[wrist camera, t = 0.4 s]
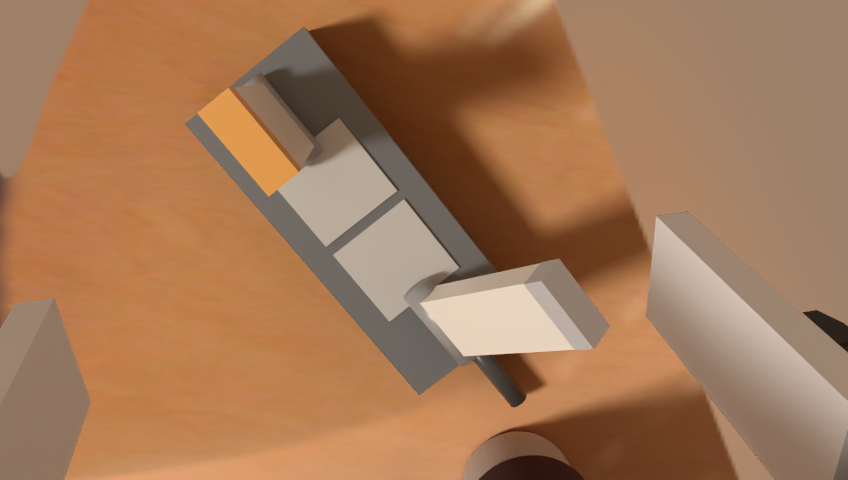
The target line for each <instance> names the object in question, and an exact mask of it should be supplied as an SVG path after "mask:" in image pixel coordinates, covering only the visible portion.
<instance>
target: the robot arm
mask: <svg viewBox="0 0 848 480" xmlns="http://www.w3.org/2000/svg"><path fill="white" fill-rule="evenodd" d="M646 317H647V318H648V319H649V321H650V322H651V323H652V324H653V326H654V327H655V328H656V330H657V331H658V332H659V333H660V335H661V336H662V337H663V338H664V340H665V341H666V342H667V343H668V345H669V346H670V347H671V349H672V350H673V351H674V352H675V354H676V355H677V356H678V357H679V359H680V360H681V361H682V362H683V364H684V365H685V366H686V368H687V369H688V370H689V371H690V373H691V374H692V375H693V376H694V378H695V379H696V380H697V381H698V383H699V384H700V385H701V387H702V388H703V389H704V390H705V392H706V393H707V394H708V395H709V397H710V398H711V399H712V400H713V402H714V403H715V404H716V406H717V407H718V408H719V409H720V411H721V412H722V413H723V414H724V416H725V417H726V418H727V419H728V421H729V422H730V423H731V425H732V426H733V427H734V428H735V430H736V431H737V432H738V433H739V435H740V436H741V437H742V438H743V440H744V441H745V442H746V444H747V445H748V446H749V447H750V448H751V450H752V451H753V452H754V454H755V455H756V456H757V457H758V459H759V460H760V461H761V462H762V464H763V465H764V466H765V468H766V469H767V470H768V471H769V473H770V474H771V475H772V476H773V478H774V479H775V480H848V326H847V325H845V324H844V323H842V322H840V321H838V320H836V319H834V318H832V317H830V316H827V315H826V314H823V313H822V312H819V311H817V310H815V311H810V312H803V313H802V312H801V311H800V310H799V309H798V308H796V307H795V306H794V305H793V304H792V303H791V302H790V301H789V300H787V299H786V298H785V297H784V296H783V295H782V294H781V293H779V292H778V291H777V290H776V289H775V288H774V287H773V286H772V285H770V284H769V283H768V282H767V281H766V280H764V279H763V278H762V277H761V276H760V275H759V274H758V273H757V272H756V271H754V270H753V269H752V268H751V267H750V266H749V265H747V264H746V263H745V262H744V261H743V260H742V259H741V258H740V257H739V256H737V255H736V254H735V253H734V252H733V251H732V250H731V249H729V248H728V247H727V246H726V245H725V244H724V243H723V242H722V241H720V240H719V239H718V238H717V237H716V236H715V235H714V234H712V233H711V232H710V231H709V230H708V229H707V228H706V227H704V226H703V225H702V224H701V223H700V222H699V221H698V220H697V219H695V218H694V217H693V216H692V215H691V214H690V213H689V212H681V213H674V214H666V215H660V216H656V221H655V232H654V241H653V251H652V261H651V271H650V281H649V292H648V302H647V312H646ZM90 403H91V401H90V398H89V395H88V392H87V390H86V387H85V384H84V381H83V378H82V376H81V373H80V370H79V367H78V364H77V361H76V359H75V356H74V353H73V350H72V347H71V344H70V342H69V339H68V336H67V333H66V330H65V327H64V325H63V322H62V319H61V316H60V313H59V310H58V308H57V305H56V302H55V299H54V298H51V299H44V300H37V301H29V302H22V303H15V304H14V306H13V308H12V310H11V311H10V313H9V315H8V316H7V318H6V320H5V322H4V323H3V325H2V327H1V328H0V480H64V478H65V476H66V473H67V470H68V467H69V464H70V461H71V458H72V455H73V452H74V449H75V446H76V443H77V441H78V438H79V435H80V432H81V429H82V426H83V423H84V420H85V417H86V414H87V411H88V408H89V406H90Z"/></svg>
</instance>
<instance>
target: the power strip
mask: <svg viewBox="0 0 848 480" xmlns="http://www.w3.org/2000/svg"><path fill="white" fill-rule="evenodd" d="M259 73H262V75H263V76H264V77H265V78H266V79H267V81H268V82H269V83H270V84H271V86H272V87H273V88H274V89H275V90H276V92H277V93H278V94H279V95H280V97H281V98H282V99H283V100H284V101H285V103H286V104H287V105H288V106H289V108H290V109H291V110H292V111H293V112H294V114H295V115H296V116H297V117H298V119H299V120H300V121H301V122H302V123H303V125H304V126H305V127H306V128H307V130H308V131H309V132H310V133H311V134H312V136H313V137H314V138H315V139H316V141H317V142H318V143H319V144H320V145H321V147H322V148H323V149H324V151H323V152H322V153H321V154H320V155H319V156H318V157H316V158H315V159H314V160H313V161H312V162H310V163H309V164H308V165H307V166H305V167H304V168H303V169H301V170H300V172H299V173H298V174H297V175H295V176H294V177H293V178H292V179H290V180H289V181H288V182H287V183H285V184H284V185H283V186H282V187H280V188H279V189H278V190H277V191H275V192H274V193H273V194H272V195H270V196H269V197H268V196H267V194H266V193H265V192H264V191H263V190H262V189H261V187H260V186H259V185H258V184H257V183H256V181H255V180H254V179H253V178H252V177H251V176H250V174H249V173H248V172H247V171H246V170H245V169H244V167H243V166H242V165H241V164H240V163H239V162H238V160H237V159H236V158H235V157H234V156H233V155H232V153H231V152H230V151H229V150H228V149H227V148H226V146H225V145H224V144H223V143H222V142H221V141H220V139H219V138H218V137H217V136H216V135H215V134H214V132H213V131H212V130H211V129H210V128H209V127H208V125H207V124H206V123H205V122H204V121H203V120H202V118H201V117H200V116H199V115H198V114H196V115H195V116H194V117H193V118H191V119H190V120H189V121H188V122H186V123H185V125H186V126H187V127H188V128H189V129H190V130H191V132H192V133H193V134H194V135H195V136H196V137H197V138H198V140H199V141H200V142H201V143H202V144H203V145H204V147H205V148H206V149H207V150H208V151H209V152H210V154H211V155H212V156H213V157H214V158H215V159H216V160H217V162H218V163H219V164H220V165H221V166H222V167H223V169H224V170H225V171H226V172H227V173H228V174H229V176H230V177H231V178H232V179H233V180H234V181H235V182H236V184H237V185H238V186H239V187H240V188H241V189H242V191H243V192H244V193H245V194H246V195H247V196H248V198H249V199H250V200H251V201H252V202H253V203H254V204H255V206H256V207H257V208H258V209H259V210H260V211H261V213H262V214H263V215H264V216H265V217H266V218H267V220H268V221H269V222H270V223H271V224H272V225H273V226H274V228H275V229H276V230H277V231H278V232H279V233H280V235H281V236H282V237H283V238H284V239H285V240H286V242H287V243H288V244H289V245H290V246H291V247H292V248H293V250H294V251H295V252H296V253H297V254H298V255H299V257H300V258H301V259H302V260H303V261H304V262H305V264H306V265H307V266H308V267H309V268H310V269H311V270H312V272H313V273H314V274H315V275H316V276H317V277H318V279H319V280H320V281H321V282H322V283H323V284H324V286H325V287H326V288H327V289H328V290H329V291H330V292H331V294H332V295H333V296H334V297H335V298H336V299H337V301H338V302H339V303H340V304H341V305H342V306H343V308H344V309H345V310H346V311H347V312H348V313H349V314H350V316H351V317H352V318H353V319H354V320H355V321H356V323H357V324H358V325H359V326H360V327H361V328H362V330H363V331H364V332H365V333H366V334H367V335H368V336H369V338H370V339H371V340H372V341H373V342H374V343H375V345H376V346H377V347H378V348H379V349H380V350H381V352H382V353H383V354H384V355H385V356H386V357H387V358H388V360H389V361H390V362H391V363H392V364H393V365H394V367H395V368H396V369H397V370H398V371H399V372H400V374H401V375H402V376H403V377H404V378H405V379H406V381H407V382H408V383H409V384H410V385H411V386H412V387H413V389H414V390H415V391H416V392H417V393H418V394H419V395H420V394H421V393H423V392H424V391H425V390H427V389H428V388H429V387H431V386H432V385H433V384H435V383H436V382H437V381H439V380H440V379H441V378H443V377H444V376H445V375H446V374H448V373H449V372H450V371H452V370H453V369H454V368H456V367H457V366H458V363H457V362H456V361H455V360H454V359H453V357H452V356H451V355H450V354H449V353H448V351H447V350H446V349H445V348H444V347H443V345H442V344H441V343H440V342H439V341H438V340H437V338H436V337H435V336H434V335H433V334H432V332H431V331H430V330H429V329H428V328H427V326H426V325H425V324H424V323H423V322H422V320H421V319H420V318H419V317H418V316H417V314H416V313H415V312H414V311H413V310H412V308H411V307H410V306H409V305H408V304H407V302H406V301H405V300H404V295H405V294H406V293H407V291H408V290H409V289H410V288H411V287H413V286H414V285H415V284H416V283H418V282H419V281H421V280H422V279H425V278H429V279H430V280H431V281H432V283H433V284H434V285H435V286H437V285H441V284H446V283H451V282H455V281H460V280H465V279H469V278H474V277H478V276H483V275H488V274H492V273H497V272H498V271H497V269H496V268H495V267H494V266H493V264H492V263H491V262H490V261H489V259H488V258H487V257H486V255H485V254H484V253H483V252H482V250H481V249H480V248H479V247H478V245H477V244H476V243H475V241H474V240H473V239H472V238H471V236H470V235H469V234H468V233H467V231H466V230H465V229H464V227H463V226H462V225H461V224H460V222H459V221H458V220H457V219H456V217H455V216H454V215H453V214H452V212H451V211H450V210H449V208H448V207H447V206H446V205H445V203H444V202H443V201H442V200H441V198H440V197H439V196H438V194H437V193H436V192H435V191H434V189H433V188H432V187H431V186H430V184H429V183H428V182H427V180H426V179H425V178H424V177H423V175H422V174H421V173H420V172H419V170H418V169H417V168H416V166H415V165H414V164H413V163H412V161H411V160H410V159H409V158H408V156H407V155H406V154H405V153H404V151H403V150H402V149H401V147H400V146H399V145H398V144H397V142H396V141H395V140H394V139H393V137H392V136H391V135H390V133H389V132H388V131H387V130H386V128H385V127H384V126H383V125H382V123H381V122H380V121H379V119H378V118H377V117H376V116H375V114H374V113H373V112H372V111H371V109H370V108H369V107H368V105H367V104H366V103H365V102H364V100H363V99H362V98H361V97H360V95H359V94H358V93H357V92H356V90H355V89H354V88H353V86H352V85H351V84H350V83H349V81H348V80H347V79H346V78H345V76H344V75H343V74H342V72H341V71H340V70H339V69H338V67H337V66H336V65H335V64H334V62H333V61H332V60H331V58H330V57H329V56H328V55H327V53H326V52H325V51H324V50H323V48H322V47H321V46H320V44H319V43H318V42H317V41H316V39H315V38H314V37H313V36H312V34H311V33H310V32H309V31H308V30H307V29H306V28H304V27H302V28H301V29H300V30H299V31H298V32H296V33H295V34H294V35H293V36H291V37H290V38H289V39H288V40H287V41H285V42H284V43H283V44H282V45H280V46H279V47H278V48H277V49H276V50H274V51H273V52H272V53H271V54H269V55H268V56H267V57H266V58H265V59H263V60H262V61H261V62H260V63H258V64H257V65H256V66H255V67H254V68H252V69H251V70H250V71H249V72H248V73H246V74H245V75H244V76H243V77H241V78H240V79H239V80H238V81H237V82H235V83H234V84H233V85H232V86H230V87H234V88H235V87H241V86H243V85H244V84H245V83H247V82H248V81H249V80H250V79H252V78H253V77H255V76H256V75H257V74H259ZM230 87H229V88H230ZM473 361H474V362H475V363H476V364H477V365H478V367H479V368H480V369H481V370H482V371H483V373H484V374H485V375H486V376H487V378H488V379H489V380H490V381H491V382H492V384H493V385H494V386H495V387H496V388H497V390H498V391H499V392H500V393H501V394H502V396H503V397H504V398H505V399H506V400H507V402H508V403H509V404H510V405H511V406H512V407H517V406H519V405H520V404H522V403H523V402H524V400H525V399H526V394H525V393H524V391H523V390H522V389H521V388H520V386H519V385H518V384H517V383H516V382H515V380H514V379H513V378H512V377H511V375H510V374H509V373H508V372H507V371H506V369H505V368H504V367H503V366H502V364H501V363H500V362H499V361H498V359H497V358H496V357H495V356H494V355H478V356H477V357H476V358H475V359H474V360H473Z"/></svg>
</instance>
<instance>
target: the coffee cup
mask: <svg viewBox="0 0 848 480" xmlns="http://www.w3.org/2000/svg"><path fill="white" fill-rule="evenodd" d="M462 480H584V479H583V477H582V476H581V475H580V474H579V473H578V472H577V471H576V470H575V469H573V468H572V467H571V465H570V464H569V462H568V461H567V459H566V458H565V457H564V455H563V454H562V452H561V451H560V450H559V448H558V447H557V446H555V445H554V444H553V443H552V442H551V441H549V440H548V439H546V438H544V437H542V436H540V435H537V434H534V433H530V432H521V431H514V432H508V433H503V434H500V435H497V436H495V437H493V438H491V439H489V440H487V441H486V442H484V443H483V444H482V445H481V446H479V447H478V448H477V449H476V451H475V452H474V453H473V454H472V455H471V457H470V458H469V460H468V462H467V463H466V466H465V469H464V472H463V476H462Z"/></svg>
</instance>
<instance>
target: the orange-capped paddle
mask: <svg viewBox="0 0 848 480" xmlns="http://www.w3.org/2000/svg"><path fill="white" fill-rule="evenodd" d="M197 114H198V115H199V116H200V117H201V118H202V120H203V121H204V122H205V123H206V124H207V125H208V127H209V128H210V129H211V130H212V131H213V132H214V134H215V135H216V136H217V137H218V138H219V139H220V141H221V142H222V143H223V144H224V145H225V146H226V148H227V149H228V150H229V151H230V152H231V153H232V155H233V156H234V157H235V158H236V159H237V160H238V162H239V163H240V164H241V165H242V166H243V167H244V169H245V170H246V171H247V172H248V173H249V174H250V176H251V177H252V178H253V179H254V180H255V181H256V183H257V184H258V185H259V186H260V187H261V189H262V190H263V191H264V192H265V193H266V194H267V196H268V197H269V196H270V195H272V194H273V193H274V192H275V191H277V190H278V189H279V188H280V187H282V186H283V185H284V184H285V183H287V182H288V181H289V180H290V179H292V178H293V177H294V176H295V175H297V174H298V173H299V172H300V170H301V169H303V168H304V167H305V166H307V165H308V164H309V163H310V162H312V161H313V160H314V159H315V158H316V157H318V156H319V155H320V154H321V153H322V152H323V151H324V149H323V148H322V147H321V145H320V144H319V143H318V142H317V141H316V139H315V138H314V137H313V136H312V134H311V133H310V132H309V131H308V130H307V128H306V127H305V126H304V125H303V123H302V122H301V121H300V120H299V119H298V117H297V116H296V115H295V114H294V112H293V111H292V110H291V109H290V108H289V106H288V105H287V104H286V103H285V101H284V100H283V99H282V98H281V97H280V95H279V94H278V93H277V92H276V90H275V89H274V88H273V87H272V86H271V84H270V83H269V82H268V81H267V79H266V78H265V77H264V76H263V75H262V73H259V74H257V75H256V76H255V77H253V78H252V79H250V80H249V81H248V82H247V83H245V84H244V85H243V86H241V87H235V88H234V87H230V88H227V89H226V90H225V91H224V92H223V93H221V94H220V95H219V96H218V97H216V98H215V99H214V100H213V101H212V102H210V103H209V104H208V105H207V106H205V107H204V108H203V109H202V110H201V111H199V112H198V113H197Z"/></svg>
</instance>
